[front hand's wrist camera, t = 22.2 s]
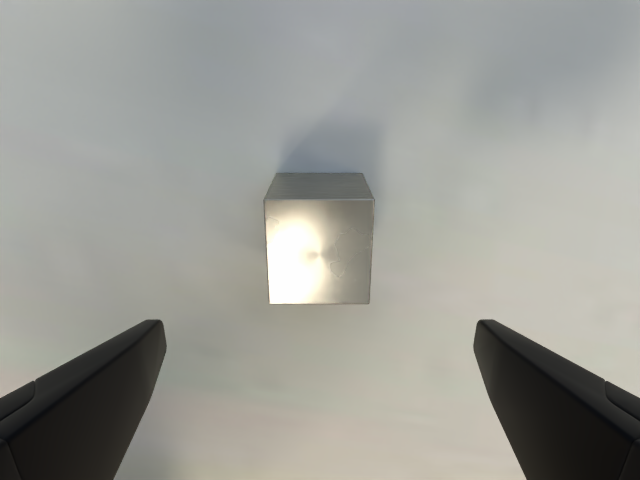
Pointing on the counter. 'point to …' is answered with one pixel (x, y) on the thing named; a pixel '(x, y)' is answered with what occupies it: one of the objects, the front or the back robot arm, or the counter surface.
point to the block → (319, 238)
